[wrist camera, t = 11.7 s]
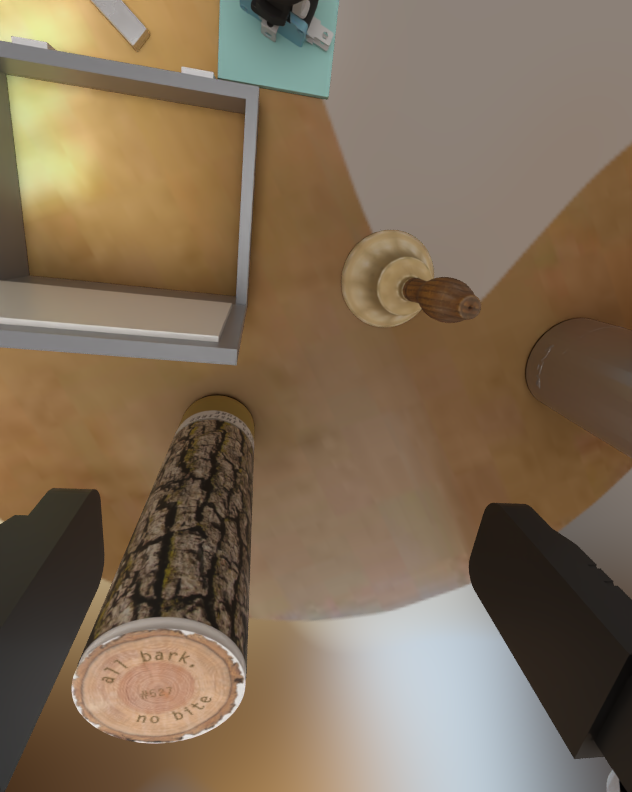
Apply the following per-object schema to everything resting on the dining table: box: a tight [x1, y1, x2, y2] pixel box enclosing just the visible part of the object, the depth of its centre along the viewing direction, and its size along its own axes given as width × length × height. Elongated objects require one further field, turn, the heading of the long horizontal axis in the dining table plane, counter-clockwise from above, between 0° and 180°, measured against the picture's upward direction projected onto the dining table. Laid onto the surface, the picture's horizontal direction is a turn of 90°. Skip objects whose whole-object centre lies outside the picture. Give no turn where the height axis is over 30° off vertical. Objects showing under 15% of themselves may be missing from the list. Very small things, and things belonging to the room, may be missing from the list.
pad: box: [218, 0, 339, 99], centre depth 29 cm, size 8×8×1 cm
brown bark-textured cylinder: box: [72, 395, 254, 743], centre depth 29 cm, size 7×7×25 cm
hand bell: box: [341, 230, 481, 327], centre depth 30 cm, size 8×8×16 cm
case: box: [0, 36, 259, 365], centre depth 25 cm, size 19×16×17 cm
